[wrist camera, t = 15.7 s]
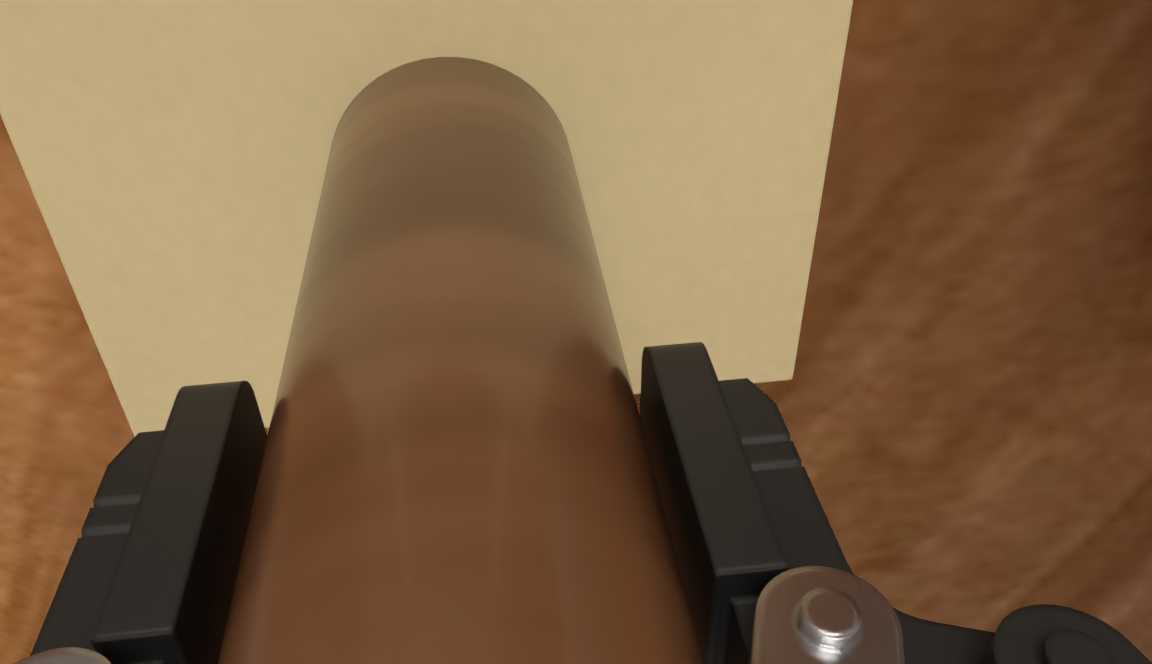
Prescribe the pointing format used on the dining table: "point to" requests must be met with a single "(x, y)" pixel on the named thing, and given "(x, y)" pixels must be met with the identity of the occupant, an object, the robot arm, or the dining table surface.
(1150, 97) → the dining table surface
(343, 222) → the pepper mill
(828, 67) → the cabinet
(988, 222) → the dining table surface
